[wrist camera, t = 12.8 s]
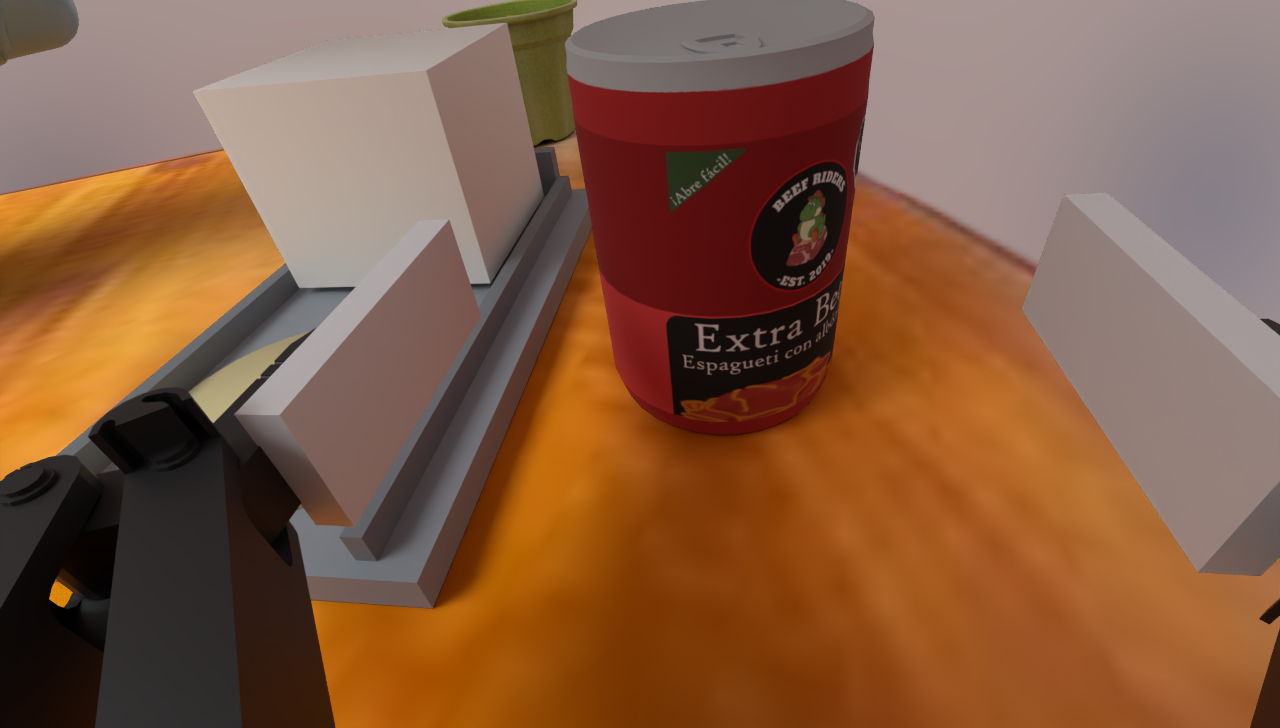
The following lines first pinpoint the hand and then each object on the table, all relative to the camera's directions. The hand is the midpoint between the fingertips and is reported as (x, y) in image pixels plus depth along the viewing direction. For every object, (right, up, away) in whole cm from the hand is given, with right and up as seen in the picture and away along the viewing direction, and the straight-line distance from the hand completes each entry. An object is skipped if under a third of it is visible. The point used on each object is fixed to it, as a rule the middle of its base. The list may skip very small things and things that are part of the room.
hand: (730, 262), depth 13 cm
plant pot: (-10, +15, +32) cm, 37 cm away
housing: (-12, +4, +15) cm, 20 cm away
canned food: (+1, -2, +8) cm, 9 cm away
